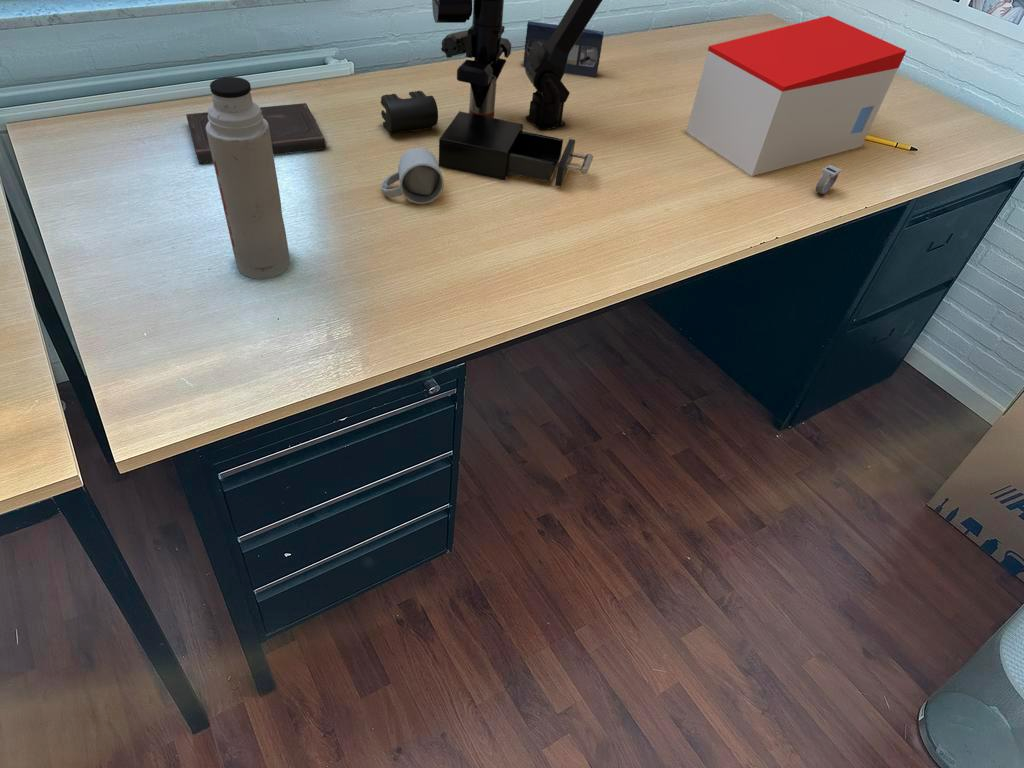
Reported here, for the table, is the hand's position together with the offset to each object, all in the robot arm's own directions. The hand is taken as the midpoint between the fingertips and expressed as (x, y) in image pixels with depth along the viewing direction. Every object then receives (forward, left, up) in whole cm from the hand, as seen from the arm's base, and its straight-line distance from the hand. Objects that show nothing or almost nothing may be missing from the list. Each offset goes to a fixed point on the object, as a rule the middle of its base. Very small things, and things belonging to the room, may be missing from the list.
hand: (482, 102), depth 147 cm
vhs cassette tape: (-33, -19, -5) cm, 38 cm away
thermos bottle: (+55, +30, -5) cm, 63 cm away
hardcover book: (+44, -10, -5) cm, 46 cm away
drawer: (-2, +22, -4) cm, 23 cm away
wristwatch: (-51, +50, -5) cm, 71 cm away
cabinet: (+7, +13, -5) cm, 15 cm away
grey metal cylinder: (0, 0, -5) cm, 5 cm away
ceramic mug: (+25, +20, -5) cm, 32 cm away
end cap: (+15, -3, -5) cm, 16 cm away
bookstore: (-59, +29, -5) cm, 66 cm away
